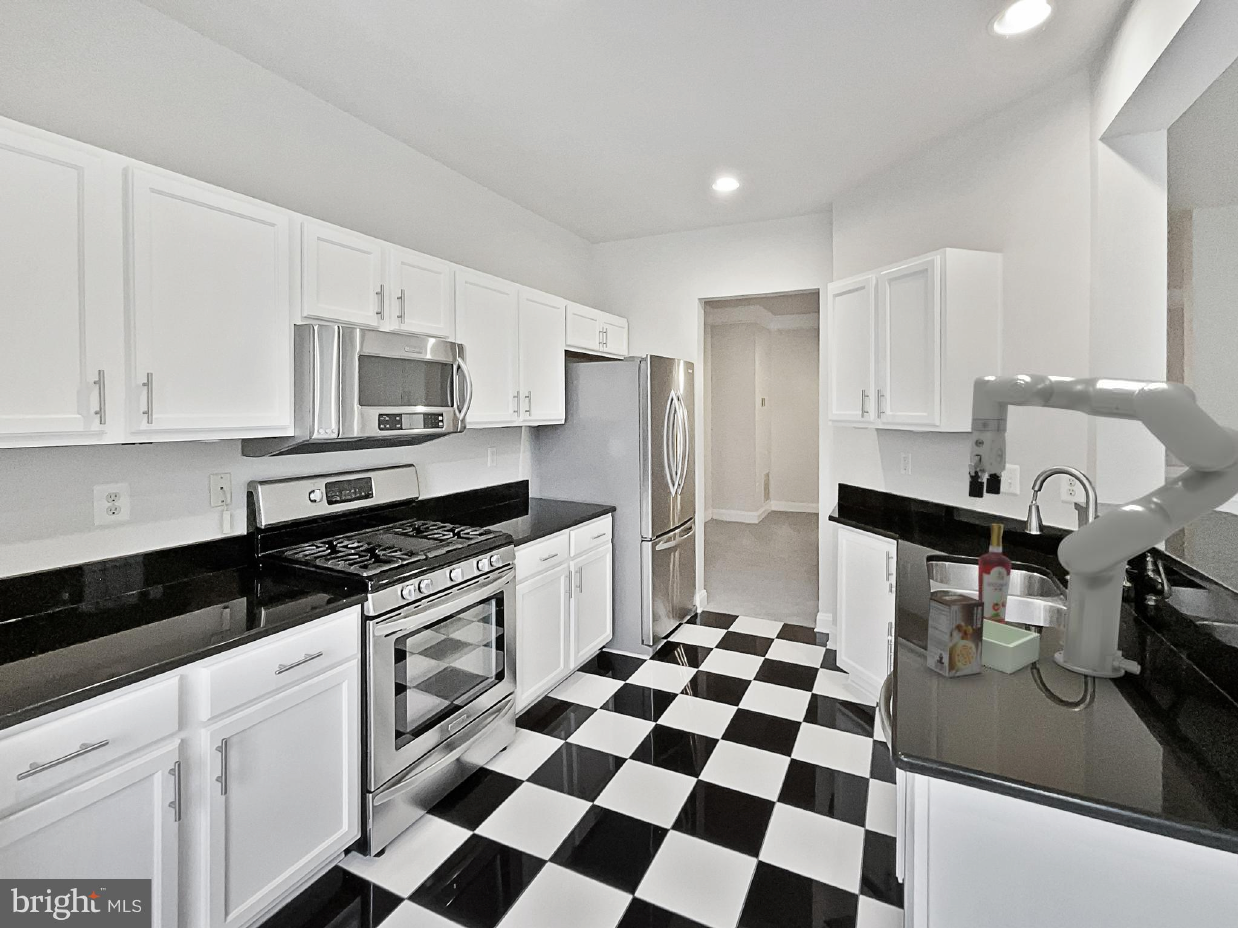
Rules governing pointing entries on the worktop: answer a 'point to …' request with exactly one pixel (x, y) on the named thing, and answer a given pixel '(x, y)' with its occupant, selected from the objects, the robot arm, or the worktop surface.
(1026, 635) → the bin
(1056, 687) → the worktop surface
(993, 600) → the liquor
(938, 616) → the coffee box
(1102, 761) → the worktop surface
